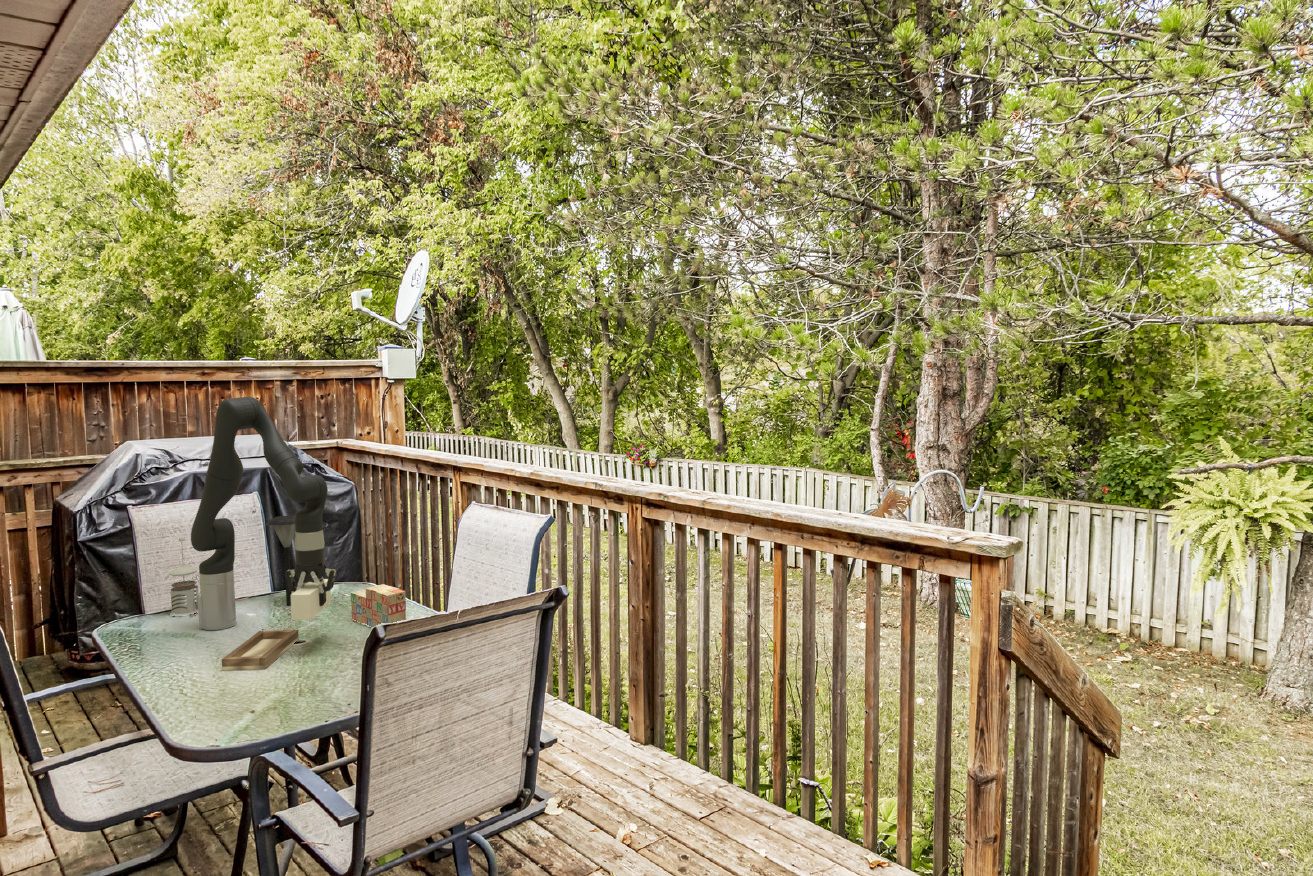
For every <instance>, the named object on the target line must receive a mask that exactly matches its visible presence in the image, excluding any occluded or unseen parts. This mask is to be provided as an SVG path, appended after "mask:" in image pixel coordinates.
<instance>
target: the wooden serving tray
mask: <svg viewBox="0 0 1313 876" xmlns="http://www.w3.org/2000/svg"><path fill="white" fill-rule="evenodd" d="M299 634H300V633H299V629H285V630H284V629H282V630H281V629H279V630H278V629H277V630H259V631H257V632H256V633H255V634H254V635H252V636H250V637H249V638H248V639H246V640H245V641H244V642H243V643H241V644H240V645H238V646H237V647H236V648H235V649H233V650H232V651H231V652H229V653H228V654H227V655H225V656H224V657H223V658H221V670H222V671H245V670H250V671H251V670H253V671H254V670H266V669H268V667H269V666H271V665H272V664H274V662H276V661H277V660H278V659H279V658H280V657H281V656H282V655H284V653H286V652H287V651H288V650H289V649H290V648H291V647H293V644H294V643H295V642H296V641H297V642H298V641H299V637H300V635H299ZM297 642H296V643H297ZM296 643H295V644H296ZM295 644H294V645H295ZM286 650H287V651H286ZM285 651H286V652H285ZM276 659H277V660H276Z"/></svg>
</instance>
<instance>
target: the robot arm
mask: <svg viewBox="0 0 1313 876" xmlns="http://www.w3.org/2000/svg"><path fill="white" fill-rule="evenodd" d="M248 429H253V430H255V432H256V433H258V435H260V437H261V441H262V445H263V448H262V451H263V455H264V458H265V460H266V462H267V464H268V465H269V467H270V468H272V470H273V471H274V472H275V474H276V475H278V476H279V478H280V481H281V483H282V485H283V486H282V487H284V490H285V493H286V495H287V496H288V497H289V499H290V500H292V501H294V502H296V503H301V504H302V503H305V504H304V506H303V508H301V509H300V510H298V511H297V512H296V513H295V515H294V516H295V531H296V532H295V535H294V553H295V568H293V569H289V570H287V571H286V572H285V571H284V573H283V575H284V578H286V581H287V585H288V588H289V591H290V592H292V593H294V592H295V591H297V590H298V589H300V588H302V586H305V584H307V583H308V582H312V583H315V584H316V586H317V587H318V588H319V592H320V593H319V606H323V605H324V604H325V603H326V592H327V591H330V590H332V589H333V588H334V584H335V580H336V576H337V569H336V568H332V569H331V568H327V566H326V562H325V561H326V560H325V558H326V557H325V555H326V554H325V545H326V543H325V536H324V529H323V528H324V527H323V515H324V514H323V513H324V510H325V505H326V501H327V499H328V498H327V497H328V493H329V492H328V491H329V490H328V489H329V488H328V484H327V482H326V480H325V478H324V477H323V476H321V475H318V474H312V475H307V476H301V474H303V471H304V469H305V468H304V463H303V462H302V461H301V459H300V458H299V457H298V456H297V455H296V454H295V452H294V451H293V450H292V449H291V448H290V447H289V445H288V444H287V443H286V442H285V441H284V439H283V438H282V436H281V434H280V432H279V431H278V429H277V428H276V426H275V424H274V422H273V420H272V419H271V417H270V415H269V414H268V412H267V410H266V409H265V407H264V406H263V405H262V403H261V402H260V401H259V400H258V399H256V398H255V397H253V396H244V397H242V396H241V397H234V398H227V399H224V400H222V401H221V402H220V403H219V404H218V407H217V409H216V414H215V423H214V434H213V435H214V436H213V443H212V448H211V453H210V458H209V463H208V466H207V471H206V476H205V480H204V486H203V490H202V491H203V492H202V495H201V498H200V502H199V506H198V509H197V512H196V514H195V518H194V520H193V524H192V527H191V532H190V543H191V547H192V548H193V549H194V550H195V551H196V552H209V551H210V552H211V551H214V552H213V554H212V555H211V556H210V557H208V558H207V559H205V560H203V561H202V562H200V564H199V566H198V573H199V575H198V576H200V577H199V582H200V583H199V589H200V591H199V594H200V597H199V598H198V614H197V615H198V628H199V630H205V631H218V630H224V629H228V628H231V627H234V626H235V625H236V624H237V612H236V611H237V610H236V607H237V606H236V595H235V594H236V593H235V592H236V591H235V589H236V588H235V576H234V575H235V573H234V572H235V571H234V563H235V561H236V560H235V558H236V557H235V547H236V546H235V545H236V541H235V540H236V537H235V536H236V535H235V532H236V531H235V527H234V524H233V523H232V521H231V520H230V519H229V518H226V517H222V518H221V517H220V518H217V516H218V514H219V513H220V511H221V510H222V509H223V508H224V507H225V506H226V505H227V504H228V503H229V501H231V500H232V498H234V496H235V495H236V494H237V493H238V492H239V489H240V486H241V482H242V477H243V473H244V465H243V461H242V460H241V458H240V456H239V454H238V452H237V451H236V448H235V443H236V437H237V436H236V435H237V433H238V431H243V430H248ZM325 573H326V577H327V579H328V581H327V586H325V583H324V579H325V578H324V577H323V576H324V574H325ZM295 574H296V575H295ZM295 576H297V577H298V579H299V580H298V582H297V583H296V579H295Z"/></svg>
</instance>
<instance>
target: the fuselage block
mask: <svg viewBox="0 0 1313 876" xmlns="http://www.w3.org/2000/svg"><path fill="white" fill-rule="evenodd" d="M323 579H324V583H325V586H327V581H328V578H323ZM331 590H332V589H331ZM331 590H330V591H327V592H326V603H325V604H324V605H323V606H319V593H320V592H319V588H318V587H317V586H316V584H315V583H312V582H307V583H306V584H305V586H302V588H300V589H298V590H297V591H295V592H292V594H291V606H290V613H291V621H299V620H300V621H305V620H309V621H310V620H312V619H313V618H314V617H315V616H317V615H318V614H319V613H320V612H322V611H323V610H324V609H325V608H326V607H327V606H329V604H331V603H332V597H331V596H332V595H331V594H332V593H331V592H332V591H331Z"/></svg>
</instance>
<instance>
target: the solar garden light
mask: <svg viewBox="0 0 1313 876" xmlns="http://www.w3.org/2000/svg"><path fill="white" fill-rule="evenodd" d="M265 525H266V526H272V528H273V530H274V531H275V533H276V536H277V538H278V539H279V541H280V543H281V544H282V546H283V553H284V555H283V556H284V559H283V560H284V573H285V572H286V571H287V570H289V569H291V548H290V546H291V544H292V542H293V539H294V538H295V532H296V531H295V515H292V514H291V515H290V514H289V515H280V516H275V517H274V518H272V519H271V520H269V521H267V522H266V523H265ZM291 570H292V569H291ZM284 578H285V577H284ZM291 594H293V591H292V592H290V591H289V588H288V585H287V581H286V578H285V600H286V601H285V602H286V606H287V607H289V606H290V607H291Z"/></svg>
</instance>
